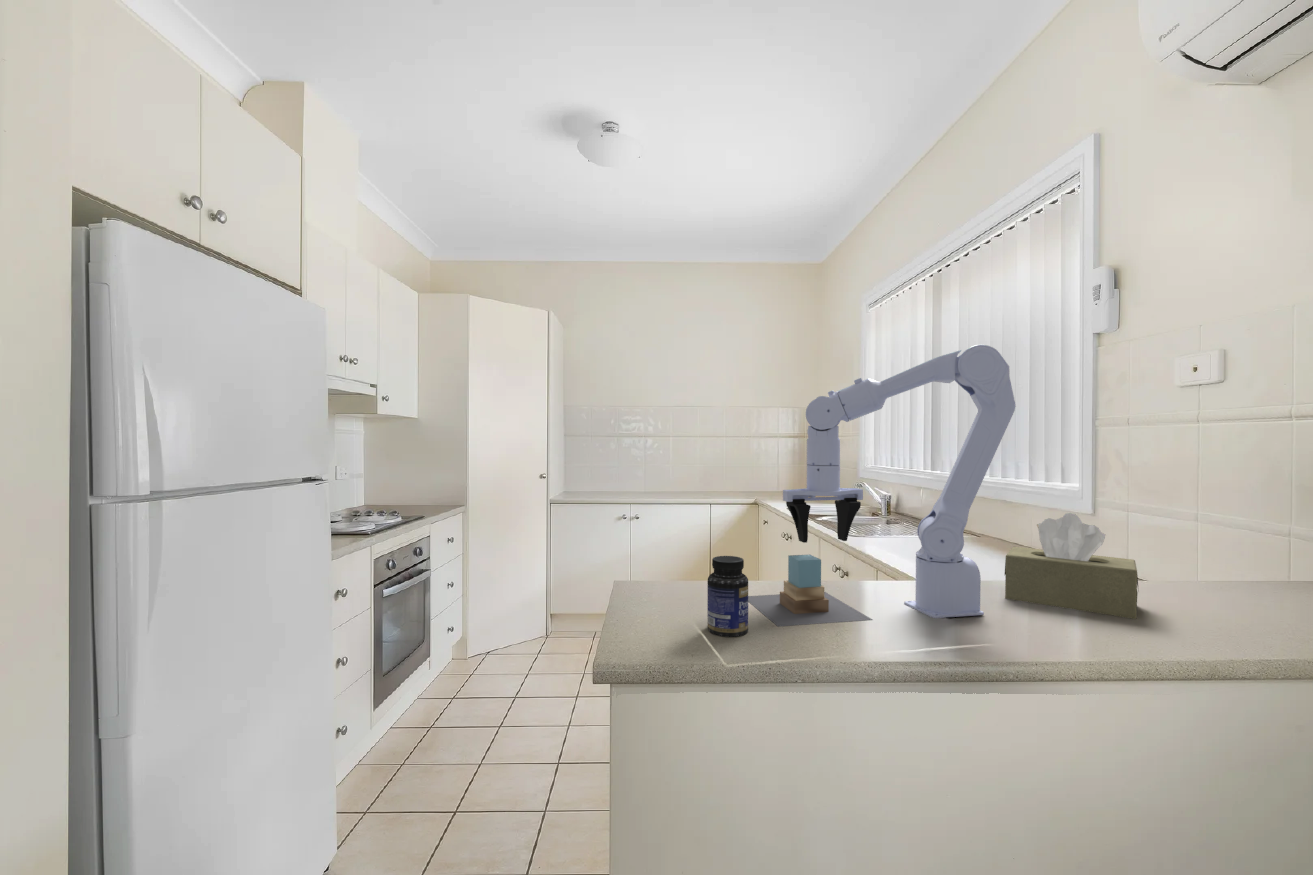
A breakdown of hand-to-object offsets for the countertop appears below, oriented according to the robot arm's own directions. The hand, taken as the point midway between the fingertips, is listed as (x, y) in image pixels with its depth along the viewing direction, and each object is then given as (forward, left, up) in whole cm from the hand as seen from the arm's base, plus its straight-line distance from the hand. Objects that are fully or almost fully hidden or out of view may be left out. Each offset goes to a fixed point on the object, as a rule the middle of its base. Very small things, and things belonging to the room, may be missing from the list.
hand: (822, 540), depth 104 cm
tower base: (+6, +5, -10) cm, 13 cm away
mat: (+6, +5, -10) cm, 13 cm away
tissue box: (-42, +10, -11) cm, 44 cm away
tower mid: (+6, +5, -8) cm, 11 cm away
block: (+6, +5, -6) cm, 10 cm away
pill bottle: (+22, +13, -11) cm, 28 cm away
